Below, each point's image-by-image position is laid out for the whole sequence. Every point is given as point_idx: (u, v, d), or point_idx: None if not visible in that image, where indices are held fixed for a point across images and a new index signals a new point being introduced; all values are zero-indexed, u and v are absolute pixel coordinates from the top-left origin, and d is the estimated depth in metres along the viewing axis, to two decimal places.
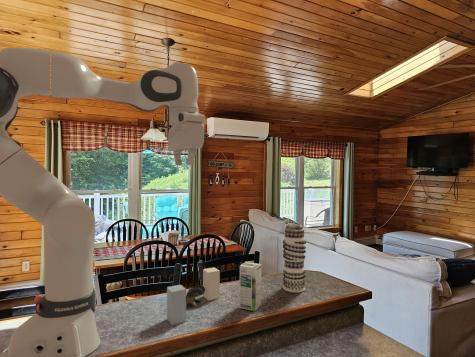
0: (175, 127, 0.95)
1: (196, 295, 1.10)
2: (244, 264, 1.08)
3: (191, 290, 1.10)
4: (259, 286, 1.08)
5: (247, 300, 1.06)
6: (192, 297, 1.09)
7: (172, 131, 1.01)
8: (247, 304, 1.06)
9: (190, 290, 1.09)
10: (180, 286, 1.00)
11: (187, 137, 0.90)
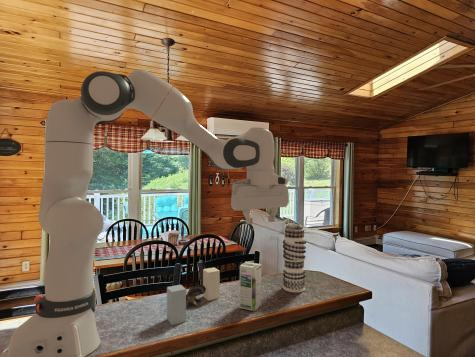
0: (268, 188, 1.00)
1: (197, 294, 1.11)
2: (244, 264, 1.08)
3: (192, 289, 1.10)
4: (259, 286, 1.08)
5: (247, 300, 1.06)
6: (193, 296, 1.10)
7: (249, 190, 0.98)
8: (247, 304, 1.06)
9: (191, 289, 1.10)
10: (180, 286, 1.00)
11: (281, 197, 1.04)
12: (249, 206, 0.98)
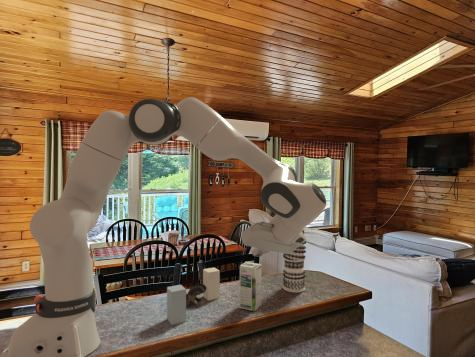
0: (283, 241, 0.96)
1: (197, 293, 1.12)
2: (244, 264, 1.08)
3: (192, 288, 1.11)
4: (259, 286, 1.08)
5: (247, 300, 1.06)
6: (193, 295, 1.10)
7: (266, 236, 0.94)
8: (247, 304, 1.06)
9: (191, 288, 1.11)
10: (180, 286, 1.00)
11: (288, 247, 1.02)
12: (256, 245, 0.96)
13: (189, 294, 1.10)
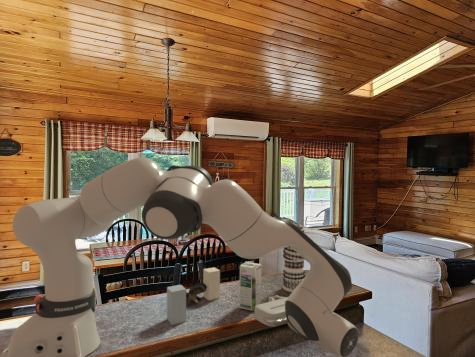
0: None
1: (198, 292, 1.12)
2: (244, 264, 1.08)
3: (193, 287, 1.12)
4: (259, 286, 1.08)
5: (247, 300, 1.06)
6: (194, 294, 1.11)
7: None
8: (247, 304, 1.06)
9: (192, 287, 1.12)
10: (180, 286, 1.00)
11: None
12: None
13: (190, 293, 1.10)
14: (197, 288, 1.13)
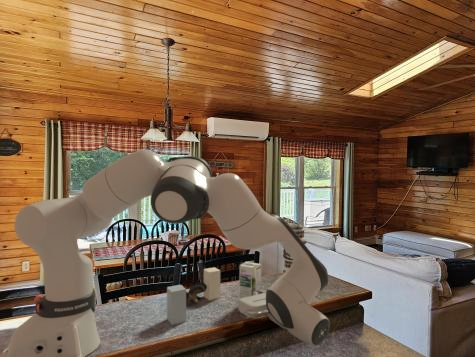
0: None
1: (198, 292, 1.13)
2: (244, 264, 1.08)
3: (193, 287, 1.12)
4: (259, 286, 1.08)
5: None
6: (194, 294, 1.12)
7: None
8: None
9: (192, 287, 1.12)
10: (180, 286, 1.00)
11: None
12: None
13: (190, 293, 1.11)
14: (197, 288, 1.13)
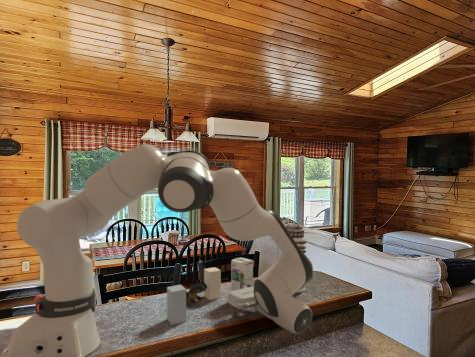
0: None
1: (198, 292, 1.13)
2: (236, 259, 1.14)
3: (193, 287, 1.13)
4: (249, 281, 1.13)
5: None
6: (194, 293, 1.12)
7: None
8: None
9: (192, 287, 1.12)
10: (180, 286, 1.00)
11: None
12: None
13: (190, 292, 1.11)
14: (197, 287, 1.13)
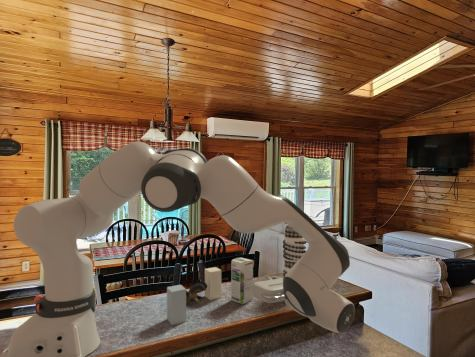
0: None
1: (198, 291, 1.14)
2: (236, 259, 1.14)
3: (193, 286, 1.13)
4: (249, 281, 1.13)
5: (236, 293, 1.12)
6: (194, 293, 1.12)
7: None
8: (237, 297, 1.12)
9: (192, 286, 1.13)
10: (180, 286, 1.00)
11: None
12: None
13: (190, 292, 1.12)
14: (197, 287, 1.14)
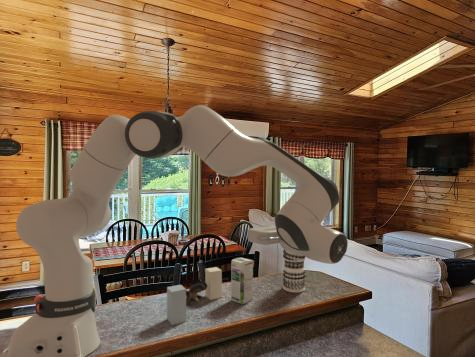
0: None
1: (198, 291, 1.14)
2: (236, 259, 1.14)
3: (193, 286, 1.14)
4: (249, 281, 1.13)
5: (236, 293, 1.12)
6: (194, 292, 1.13)
7: None
8: (237, 297, 1.12)
9: (192, 286, 1.13)
10: (180, 286, 1.00)
11: None
12: None
13: (190, 291, 1.12)
14: (197, 286, 1.14)
